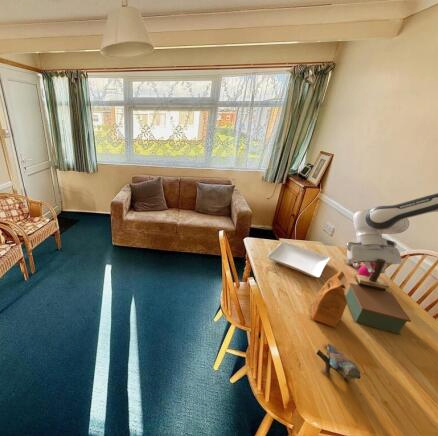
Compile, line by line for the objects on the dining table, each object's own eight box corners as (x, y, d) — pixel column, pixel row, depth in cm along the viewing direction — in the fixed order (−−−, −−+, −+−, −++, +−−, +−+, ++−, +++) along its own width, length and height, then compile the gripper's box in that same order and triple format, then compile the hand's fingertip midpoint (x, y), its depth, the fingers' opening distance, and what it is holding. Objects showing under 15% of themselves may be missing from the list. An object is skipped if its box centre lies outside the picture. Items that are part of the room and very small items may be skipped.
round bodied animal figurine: (345, 269, 131) (350, 257, 128) (343, 259, 140) (348, 247, 137) (361, 273, 128) (367, 261, 124) (358, 263, 137) (364, 251, 133)
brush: (381, 285, 106) (394, 260, 101) (386, 292, 102) (399, 265, 97) (354, 279, 110) (365, 254, 105) (358, 285, 106) (369, 260, 101)
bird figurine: (311, 337, 91) (331, 327, 75) (342, 349, 87) (369, 341, 71) (308, 374, 85) (329, 371, 69) (341, 388, 81) (370, 389, 65)
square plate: (329, 261, 138) (331, 256, 136) (317, 283, 121) (319, 277, 119) (281, 244, 156) (282, 239, 154) (265, 261, 139) (266, 255, 137)
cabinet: (384, 306, 107) (392, 292, 103) (403, 336, 92) (413, 321, 89) (343, 295, 113) (349, 282, 109) (354, 322, 98) (362, 308, 95)
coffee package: (338, 312, 103) (357, 274, 94) (336, 331, 95) (357, 290, 85) (312, 302, 109) (327, 264, 100) (308, 318, 100) (324, 279, 91)
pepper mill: (371, 278, 124) (387, 247, 116) (374, 286, 119) (392, 254, 110) (354, 273, 128) (368, 243, 119) (356, 281, 122) (372, 249, 114)
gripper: (350, 239, 106) (357, 269, 101) (400, 242, 103) (409, 273, 99) (341, 243, 112) (346, 271, 107) (388, 246, 109) (395, 275, 105)
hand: (377, 272), depth 103 cm, fingers closed on brush, 3 cm apart
